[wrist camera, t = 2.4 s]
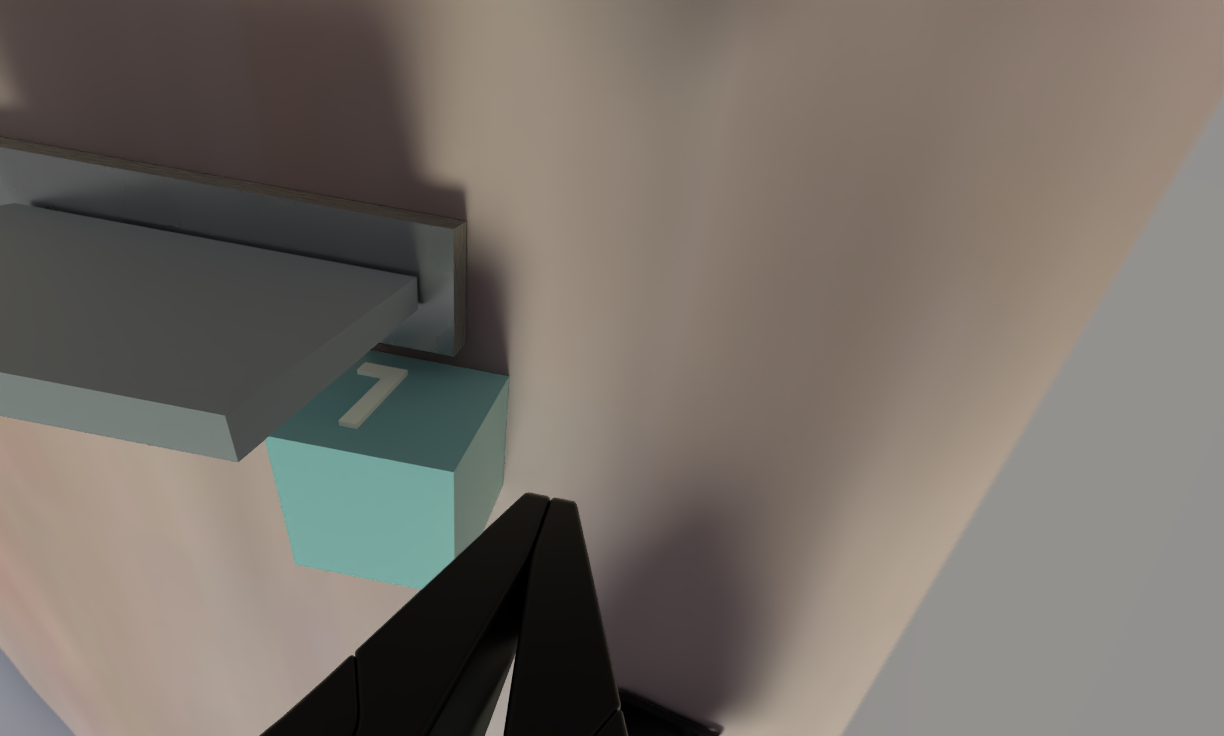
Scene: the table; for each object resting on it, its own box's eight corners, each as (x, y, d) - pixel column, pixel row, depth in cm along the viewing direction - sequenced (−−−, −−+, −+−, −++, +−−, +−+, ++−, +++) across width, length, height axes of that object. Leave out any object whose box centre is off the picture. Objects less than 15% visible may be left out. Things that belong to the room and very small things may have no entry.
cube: (510, 370, 17) (453, 467, 13) (503, 483, 20) (454, 595, 15) (366, 343, 17) (262, 430, 13) (378, 459, 20) (295, 564, 15)
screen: (416, 277, 14) (224, 415, 8) (418, 309, 15) (238, 462, 9) (14, 203, 15) (-460, 283, 9) (28, 236, 15) (-410, 336, 9)
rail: (466, 221, 15) (453, 229, 14) (465, 342, 17) (454, 356, 16) (-217, 97, 15) (-271, 97, 14) (-139, 229, 17) (-182, 236, 16)
